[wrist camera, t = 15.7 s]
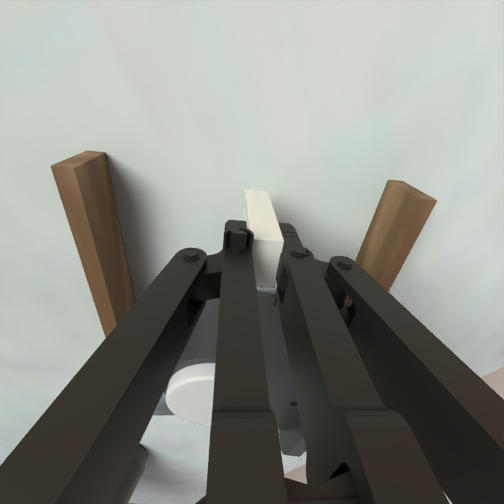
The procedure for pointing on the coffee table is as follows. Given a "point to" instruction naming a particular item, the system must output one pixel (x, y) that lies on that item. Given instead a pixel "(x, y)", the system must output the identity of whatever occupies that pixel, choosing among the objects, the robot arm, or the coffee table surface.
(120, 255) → the bay
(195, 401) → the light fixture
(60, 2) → the coffee table surface
